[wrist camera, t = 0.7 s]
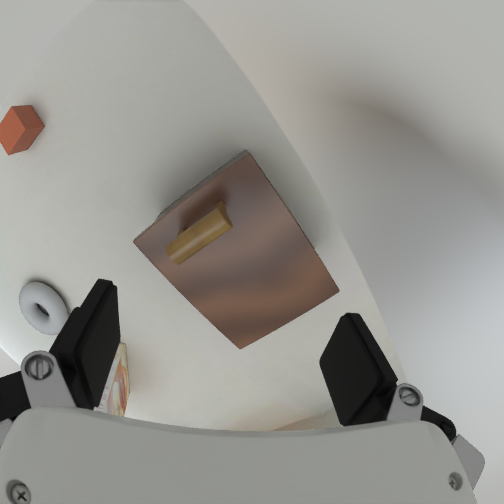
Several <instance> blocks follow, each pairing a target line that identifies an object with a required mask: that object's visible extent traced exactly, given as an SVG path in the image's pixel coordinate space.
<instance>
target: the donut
mask: <svg viewBox="0 0 504 504" xmlns="http://www.w3.org/2000/svg"><path fill="white" fill-rule="evenodd" d="M37 303H38V304H40V305H41V306H43V307H44V308H45V309H46V311H47V312H48V313H49V315H46V314H44V313H43V312H42V311H41V310H40V309H39V308H38V306H37ZM19 304H20V308H21V311H22V313H23V315H24V317H25V319H26V320H27V321H28V322H29V324H30V325H31V326H33V327H34V328H35V329H36V330H38V331H40V332H41V333H44V334H47V335H57V334H59V333H60V331H61V329H62V328H63V326H64V324H65V323H66V321H67V319H68V313H67V309H66V306H65V304H64V302H63V300H62V299H61V298H60V296H59V295H58V294H57V293H56V292H55V291H54V290H53V289H52V288H51V287H49V286H47V285H45V284H43V283H39V282H32V283H28V284H27V285H25V286H24V287H23V288H22V290H21V292H20V295H19Z"/></svg>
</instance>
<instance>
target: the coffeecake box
mask: <svg viewBox="0 0 504 504" xmlns="http://www.w3.org/2000/svg"><path fill="white" fill-rule="evenodd" d="M129 393H130V390H129V380H128V370H127V359H126V346H125V344H122V343H119V346H118V349H117V352H116V355H115V358H114V361H113V364H112V367H111V370H110V373H109V376H108V379H107V382H106V385H105V388H104V391H103V395H102V398H101V401H100V405H99V407H98V408H97V407H94V410H93V411H98V412H103V413H108V414H112V415H117V416H121V417H124V414H125V409H126V404H127V400H128V396H129Z"/></svg>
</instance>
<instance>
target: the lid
mask: <svg viewBox="0 0 504 504" xmlns="http://www.w3.org/2000/svg"><path fill="white" fill-rule="evenodd" d="M133 243H134V244H135V245H136V246H137V247H138V248H139V250H140V251H141V252H142V253H143V254H144V255H145V256H146V257H147V258H148V259H149V260H150V262H151V263H152V264H153V265H154V266H155V267H156V268H157V269H158V270H159V271H160V272H161V273H162V274H163V275H164V276H165V277H166V278H167V279H168V281H169V282H170V283H171V284H172V285H173V286H174V287H175V288H176V289H177V290H178V291H179V292H180V293H181V294H182V295H183V296H184V297H185V298H186V299H187V300H188V301H189V302H190V303H191V304H192V305H193V306H194V307H195V308H196V309H197V310H198V311H199V312H200V313H201V314H202V315H203V316H204V317H206V318H207V319H208V320H209V321H210V322H211V323H212V324H213V325H214V326H215V327H216V328H217V329H218V330H219V331H220V332H221V333H222V334H224V335H225V336H226V337H227V338H228V339H229V340H230V341H231V342H232V343H233V344H234V345H236V346H237V347H238V348H239V349H242V348H244V347H246V346H247V345H249V344H251V343H253V342H255V341H257V340H259V339H260V338H262V337H264V336H266V335H268V334H269V333H271V332H273V331H275V330H277V329H278V328H280V327H282V326H284V325H285V324H287V323H289V322H290V321H292V320H294V319H296V318H297V317H299V316H301V315H302V314H304V313H306V312H307V311H309V310H311V309H312V308H314V307H316V306H317V305H319V304H321V303H322V302H324V301H325V300H327V299H329V298H330V297H332V296H333V295H335V294H337V293H338V292H340V290H339V289H338V287H337V285H336V284H335V282H334V280H333V279H332V277H331V275H330V274H329V272H328V270H327V269H326V267H325V266H324V264H323V262H322V261H321V259H320V257H319V256H318V254H317V253H316V251H315V250H314V248H313V246H312V245H311V243H310V242H309V240H308V239H307V237H306V235H305V234H304V232H303V231H302V229H301V228H300V226H299V225H298V223H297V222H296V220H295V218H294V217H293V215H292V214H291V212H290V211H289V209H288V208H287V206H286V205H285V203H284V202H283V200H282V199H281V197H280V196H279V194H278V193H277V192H276V190H275V189H274V187H273V186H272V184H271V183H270V181H269V180H268V178H267V177H266V176H265V174H264V173H263V171H262V170H261V168H260V167H259V166H258V164H257V163H256V161H255V160H254V158H253V157H252V156H251V154H250V153H247V154H246V155H244V156H243V157H241V158H240V159H238V160H237V161H235V162H234V163H232V164H231V165H230V166H228V167H227V168H225V169H224V170H223V171H221V172H220V173H218V174H217V175H216V176H214V177H213V178H211V179H210V180H209V181H207V182H206V183H205V184H203V185H202V186H201V187H199V188H198V189H197V190H195V191H194V192H193V193H191V194H190V195H189V196H187V197H186V198H185V199H183V200H182V201H181V202H179V203H178V204H177V205H176V206H174V207H173V208H172V209H171V210H169V211H168V212H167V213H165V214H164V215H163V216H162V217H160V218H159V219H158V220H157V221H156V222H154V223H153V224H152V225H151V226H149V227H148V228H147V229H146V230H145V231H143V232H142V233H141V234H140V235H139V236H137V237H136V238H135V239H134V241H133Z"/></svg>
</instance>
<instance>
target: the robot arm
mask: <svg viewBox="0 0 504 504" xmlns="http://www.w3.org/2000/svg"><path fill="white" fill-rule="evenodd" d="M119 343H120V325H119V313H118V297H117V286H115V285H113V282H112V281H109V280H104V279H98V280H97V281H96V283H95V284H94V286H93V288H92V289H91V291H90V292H89V294H88V295H87V297H86V299H85V300H84V302H83V303H82V305H81V307H76V308H74V310H73V311H72V313H71V314H70V316H69V318H68V319H67V321H66V323H65V324H64V326H63V328H62V329H61V331H60V333H59V334H58V336H57V338H56V340H55V341H54V343H53V345H52V347H51V349H50V350H49V352H46V351H34V352H32V353H29V354H28V355H27V356H26V357H25V358H24V359H23V361H22V363H21V371H18V372H16V373H13V374H10V375H7V376H4V377H1V378H0V504H477V501H476V498H475V495H474V493H473V489H474V487H475V485H476V483H477V481H478V479H479V477H480V475H481V472H482V470H483V468H484V464H485V460H484V457H483V455H482V454H481V453H480V452H479V451H478V450H477V449H476V448H475V447H473V446H472V445H471V444H470V443H468V441H466V440H465V439H464V438H463V437H462V436H461V435H460V434H458V435H457V436H456V429H455V426H454V424H453V422H452V421H451V420H449V419H448V418H446V417H444V416H442V415H440V414H438V413H437V412H435V411H433V410H431V409H429V408H427V407H425V406H423V396H422V394H421V392H420V391H419V390H418V389H417V388H416V387H414V386H412V385H410V384H406V383H403V384H400V385H398V386H397V384H396V382H397V381H398V378H397V377H396V375H395V373H394V371H393V369H392V368H391V366H390V364H389V362H388V361H387V359H386V357H385V356H384V354H383V352H382V350H381V349H380V347H379V345H378V344H377V342H376V340H375V339H374V337H373V335H372V334H371V332H370V330H369V329H368V327H367V325H366V324H365V322H364V320H363V319H362V317H361V316H360V314H358V313H346V314H345V315H344V316H342V317H341V318H340V320H339V322H338V324H337V326H336V328H335V330H334V332H333V334H332V336H331V338H330V340H329V342H328V344H327V346H326V348H325V350H324V352H323V354H322V356H321V358H320V362H319V363H320V368H321V370H322V373H323V376H324V379H325V382H326V384H327V387H328V390H329V393H330V396H331V399H332V402H333V404H334V407H335V410H336V413H337V416H338V419H339V422H340V424H341V425H343V426H344V427H336V428H327V429H317V430H316V429H315V430H301V431H227V430H212V429H200V428H190V427H182V426H174V425H167V424H160V423H154V422H148V421H142V420H137V419H131V418H126V417H121V416H117V415H112V414H108V413H103V412H98V411H93V410H94V407H97V408H98V407H99V405H100V401H101V398H102V395H103V391H104V388H105V385H106V382H107V379H108V376H109V373H110V370H111V367H112V364H113V361H114V358H115V355H116V352H117V349H118V346H119Z"/></svg>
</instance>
